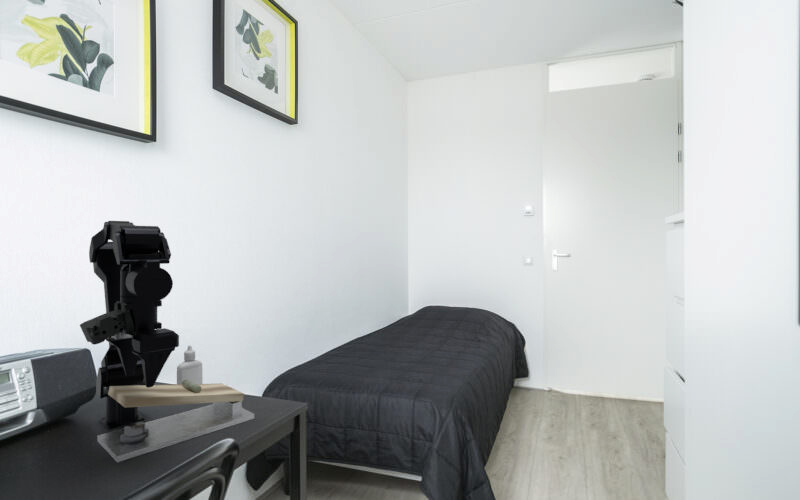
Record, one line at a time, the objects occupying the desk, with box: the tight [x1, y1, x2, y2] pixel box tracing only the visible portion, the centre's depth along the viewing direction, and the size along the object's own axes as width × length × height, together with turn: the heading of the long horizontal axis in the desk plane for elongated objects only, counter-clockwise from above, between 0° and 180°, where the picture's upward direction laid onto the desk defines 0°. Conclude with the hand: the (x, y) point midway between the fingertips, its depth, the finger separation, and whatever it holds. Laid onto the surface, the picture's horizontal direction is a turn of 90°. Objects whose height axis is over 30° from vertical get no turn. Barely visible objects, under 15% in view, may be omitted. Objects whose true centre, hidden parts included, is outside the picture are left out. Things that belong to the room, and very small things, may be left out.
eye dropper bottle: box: [176, 345, 203, 385], centre depth 106 cm, size 4×6×12 cm
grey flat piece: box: [96, 401, 255, 463], centre depth 86 cm, size 12×25×4 cm, turn 138°
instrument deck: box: [108, 380, 245, 408], centre depth 86 cm, size 10×22×3 cm, turn 138°
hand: (139, 381), depth 79 cm, fingers open, 9 cm apart
